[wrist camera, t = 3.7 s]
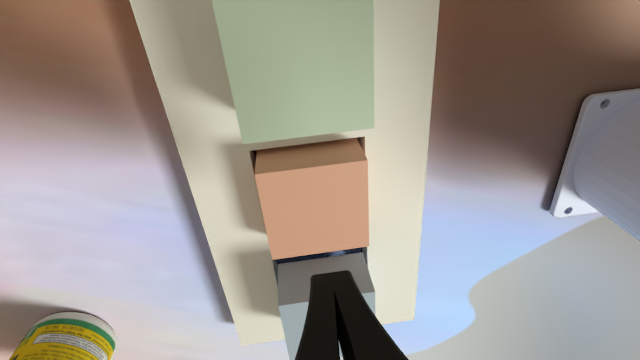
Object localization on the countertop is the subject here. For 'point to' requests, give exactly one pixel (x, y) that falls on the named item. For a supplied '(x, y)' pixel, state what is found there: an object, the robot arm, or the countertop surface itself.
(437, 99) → the countertop surface
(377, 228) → the panel
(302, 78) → the sage button
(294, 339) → the slate button
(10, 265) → the countertop surface
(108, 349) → the supplement bottle
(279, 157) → the terracotta button
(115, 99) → the countertop surface
